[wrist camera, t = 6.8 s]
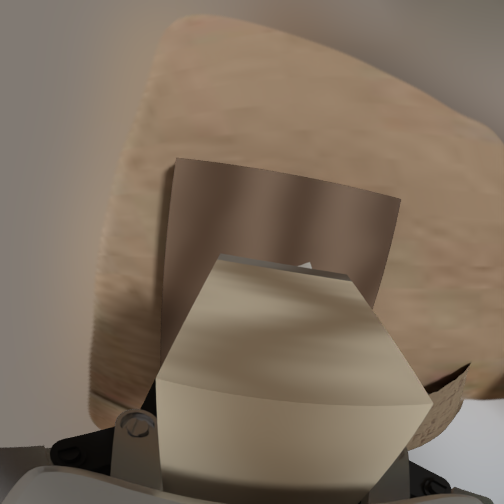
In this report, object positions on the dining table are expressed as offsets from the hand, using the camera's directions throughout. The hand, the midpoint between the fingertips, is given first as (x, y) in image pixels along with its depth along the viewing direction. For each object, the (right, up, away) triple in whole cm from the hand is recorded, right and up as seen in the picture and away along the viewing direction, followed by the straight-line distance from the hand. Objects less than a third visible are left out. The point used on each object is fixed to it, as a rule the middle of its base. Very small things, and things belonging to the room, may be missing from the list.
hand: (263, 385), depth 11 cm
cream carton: (0, +1, +2) cm, 2 cm away
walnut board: (0, -2, +13) cm, 13 cm away
